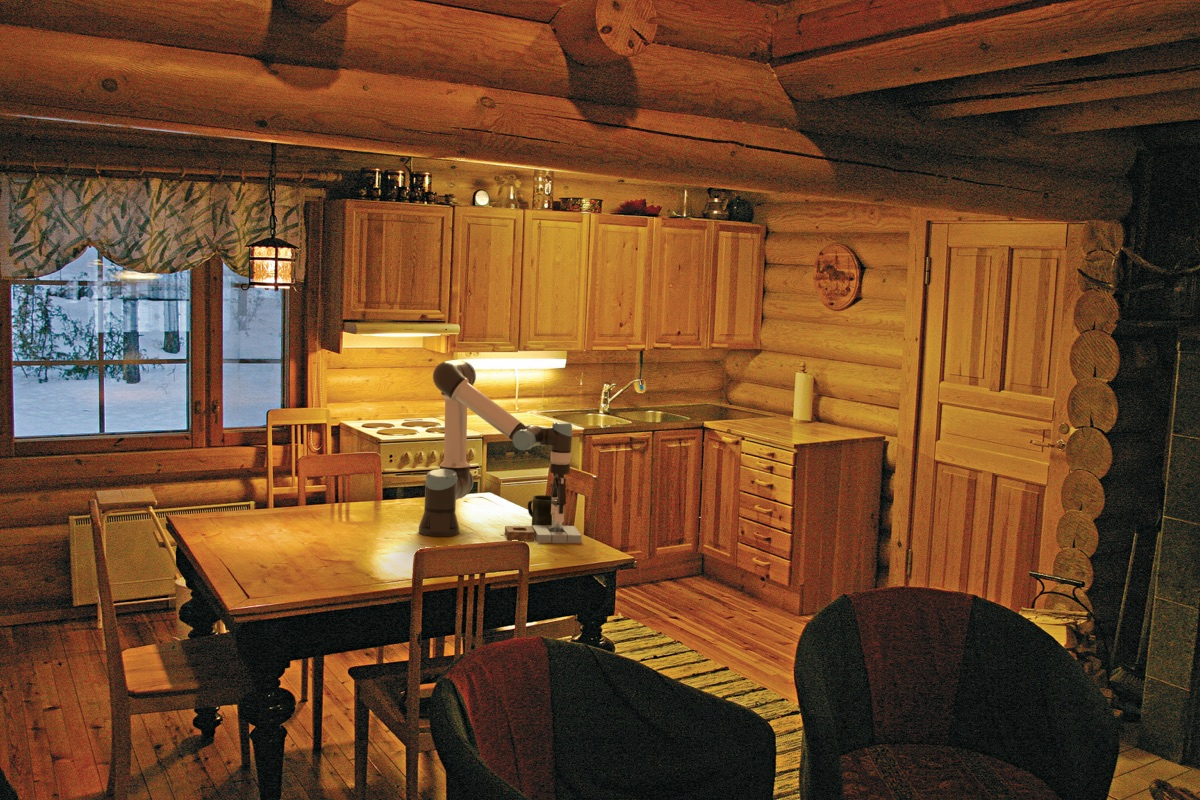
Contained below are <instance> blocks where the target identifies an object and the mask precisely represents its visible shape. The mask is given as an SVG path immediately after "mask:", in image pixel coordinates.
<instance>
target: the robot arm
mask: <svg viewBox="0 0 1200 800" xmlns="http://www.w3.org/2000/svg"><path fill="white" fill-rule="evenodd" d="M476 379H477V373H476V370H475V368H474V366H473V365H472V364H471V363H469V362H468V361H466V360H463V359H462V360H461V359H453V360H447V361H442V362H440V363H439V364H438V365H437V366H436V367H435V368H434V370H433V373H432V381H433V383H434V386H435V387H436V388H437V389H438V390H439V391H440V392H441V396H442V397H443V398H444V438H443V440H444V441H443V443H444V444H443V446H444V447H443V461H442V462H441V463H440V464H439V468H437V469H432V470H430V471H428V473H426V477H425V481H424V484H425V486H424V508H423V509H424V512H423V514H422V518H421V520H420V523H419V525H418V533H419V534H421V535H424V536H429V537H435V538H436V537H437V538H438V537H443V538H445V537H454V536H457V535H459V534H460V525H459V522H458V518H457V513H456V508H457V507H456V506H457V505H456V504H457V500H459V499H462V498H464V497H466V496H467V495H469V493H470V492H471V490H472V489H473V486H474V476H473V474H472V473H471V465H470V463H469V462H468V461H467V440H468V439H467V436H468V433H467V431H468V409H469V411H472V412H473V413H474V414H475V415H477V416H478V417H479V418H480V419H482V420H484V422H486V423H488V424H489V425H490V426H492V427H493V428H494V429H495V430H497V431H499V432H500V433H501V434H502V435H504V436H505V437H507V438H508V439H509V441H512V444H513V446H514V447H515V448H516V450H517V449H518V450H519V451H527V450H531V449H532V448H534V447H537V446H543V447H544V446H545V447H550V448H551V450H550V462H551V463H550V465H549V471H550V474H553V477H552V484H551V485H552V486H551V492H550V494H551V496H552V499H558V503H556V505H557V518H556V522H562V523H564V521H565V507H566V506H565V505H567V498H566V497H567V495H566V493H567V492H566V491H567V490H566V489H567V488H566V481H567V479H566V477H565V475H569V474H570V473H571V464H570V462H571V458H572V457H573V454H572V439H573V425H572V423H570V422H567V421H553V422H552V426H551V425H550V426H549V425H548V426H545V425H537V424H524V423H522V422H521V421H520V420H519V419H517V418H516V417H515V416H513V415H512V414H511V413H510V412H508V411H507V410H505V409H504V408H503V407H501V406H500V405H498V404H497V403H496V402H494V400H492V399H490V398H489V397H488V396H487V395H485V394H484V393H483V392H481V391H480V390H479V389H477V388H476V387H474V384H475V382H476ZM552 509H553V504H552V502H551V514H552Z"/></svg>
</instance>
